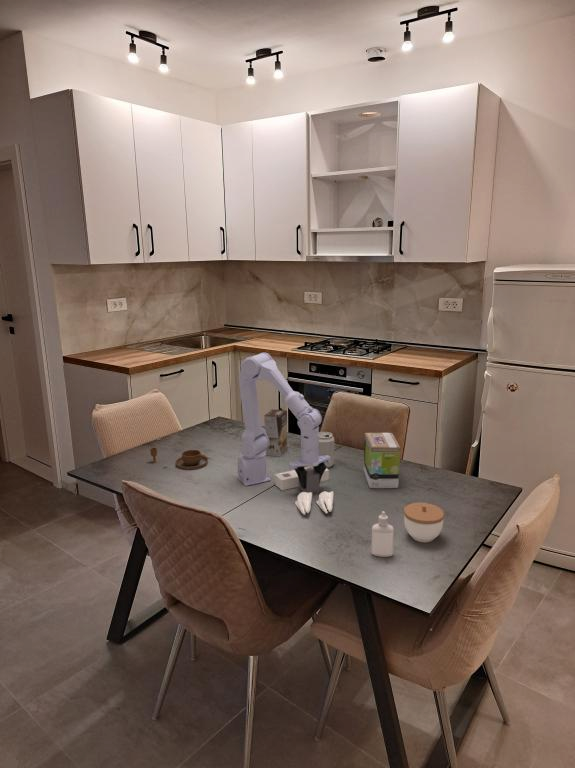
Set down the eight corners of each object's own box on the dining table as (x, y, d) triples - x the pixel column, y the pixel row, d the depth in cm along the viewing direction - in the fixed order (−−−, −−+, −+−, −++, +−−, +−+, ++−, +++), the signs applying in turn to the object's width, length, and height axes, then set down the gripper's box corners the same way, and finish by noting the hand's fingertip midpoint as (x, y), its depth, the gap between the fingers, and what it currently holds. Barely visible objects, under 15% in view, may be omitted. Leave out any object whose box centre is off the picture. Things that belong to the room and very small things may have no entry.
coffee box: (280, 457, 212) (279, 417, 208) (264, 455, 214) (263, 415, 210) (287, 448, 220) (287, 410, 216) (272, 447, 222) (271, 408, 218)
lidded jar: (420, 523, 161) (421, 493, 158) (450, 538, 152) (452, 507, 150) (394, 535, 155) (396, 504, 152) (425, 551, 146) (426, 519, 144)
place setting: (185, 477, 196) (184, 461, 194) (148, 464, 208) (146, 449, 206) (219, 461, 210) (218, 446, 208) (182, 450, 221) (181, 436, 220)
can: (334, 469, 200) (335, 437, 197) (313, 469, 200) (313, 437, 197) (333, 461, 207) (333, 430, 204) (313, 461, 207) (313, 430, 204)
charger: (307, 495, 179) (307, 476, 178) (294, 485, 187) (294, 467, 185) (319, 492, 181) (319, 474, 180) (306, 482, 189) (306, 464, 187)
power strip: (281, 490, 183) (281, 478, 182) (274, 484, 188) (274, 472, 187) (328, 479, 191) (329, 468, 190) (320, 474, 196) (321, 462, 195)
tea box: (399, 488, 184) (401, 446, 180) (369, 489, 184) (370, 447, 180) (390, 470, 198) (392, 431, 194) (362, 470, 198) (363, 431, 194)
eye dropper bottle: (387, 560, 142) (389, 518, 139) (368, 553, 145) (369, 512, 142) (395, 553, 145) (397, 511, 142) (376, 546, 149) (377, 505, 146)
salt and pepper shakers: (295, 501, 176) (292, 519, 165) (295, 489, 175) (292, 506, 164) (333, 503, 175) (332, 520, 164) (333, 490, 173) (332, 507, 163)
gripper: (295, 455, 172) (295, 495, 175) (335, 447, 178) (335, 486, 181) (285, 447, 178) (286, 486, 181) (324, 440, 184) (324, 478, 188)
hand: (310, 486), depth 182 cm, fingers closed on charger, 4 cm apart
